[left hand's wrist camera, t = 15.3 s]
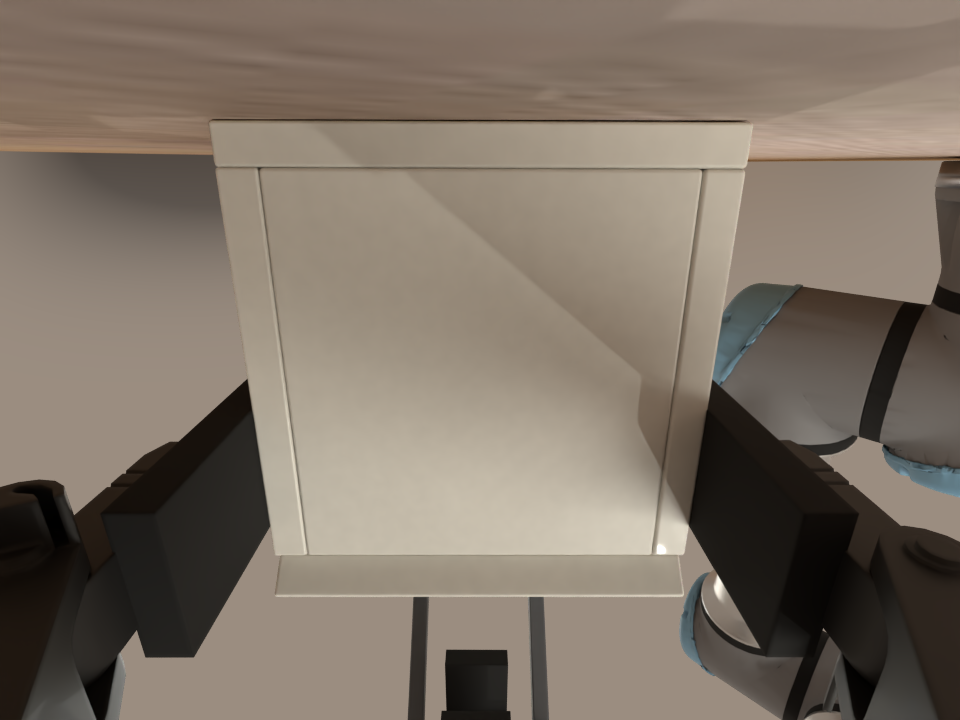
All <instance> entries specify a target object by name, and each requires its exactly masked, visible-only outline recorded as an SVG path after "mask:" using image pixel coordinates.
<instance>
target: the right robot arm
mask: <svg viewBox="0 0 960 720" xmlns="http://www.w3.org/2000/svg"><path fill="white" fill-rule="evenodd" d="M935 187H936V191H935V198H936V209H937V220H938V231H939V242H940V253H941V264H942V269H941V275H940V278H939V282H938V284H937V288H936V291H935V294H934V297H933V300H932V303H931V305H925V304H917V303H910V302H904V301H897V300H890V299H884V298H877V297H870V296H863V295H856V294H849V293H842V292H835V291H829V290H822V289H815V288H808V287H803V285H800V284H797V285H794V286H790V285H778V284H767V283H758V284H753V285H751V286H748V287H747V288H745V289H743V290H742V291H741V292H740V293H738V294H737V295H736V296H735V297H734V299H733V300H732V301H731V302H730V304H729V305H728V306H727V308H726V309H725V311H724V312H723V315H722V321H721V327H720V333H719V340H718V346H717V352H716V359H715V365H714V371H713V377H712V379H713V380H714V381H715V382H716V383H717V384H718V385H719V386H720V387H721V388H723V389H724V390H725V391H726V392H727V393H728V394H729V395H730V396H731V397H732V398H733V399H735V400H736V401H737V402H738V403H739V404H740V405H741V406H742V407H743V408H744V409H746V410H747V411H748V412H749V413H750V414H751V415H752V416H753V417H754V418H755V419H756V420H758V421H759V422H760V423H761V424H762V425H763V426H764V427H765V428H766V429H767V430H769V431H770V432H771V433H772V434H773V435H774V436H775V437H776V438H777V439H778V440H791V441H793V442H795V443H797V444H799V445H801V446H803V447H805V448H806V449H808V450H810V451H812V452H814V453H816V454H817V455H818V456H819V457H821V458H822V459H823V460H824V461H825V462H826V463H828V464H829V465H830V461H831V457H833V456H836V455H839V454H842V453H844V452H846V451H847V450H849V449H850V448H851V447H852V446H853V445H854V444H855V442H856V440H857V437H862V438H865V439H869V440H872V441H875V442H879V443H882V444H883V447H882V451H883V453H884V457H885V460H886V462H887V463H888V464H889V466H890V467H891V468H893V469H894V470H895V471H896V472H898V473H899V474H901V475H905V476H910V479H911V480H912V481H913V482H915V483H917V484H920V485H922V486H925V487H927V488H930V489H932V490H935V491H938V492H941V493H946V494H949V495H953V496H956V497H960V161H944V162H942V164H941V167H940V171H939V174H938V177H937V181H936V184H935ZM680 641H681V645H682V648H683V650H684V652H685V653H686V654H687V656H688V657H689V658H691V659H692V660H693V661H695V662H696V663H697V664H699V665H700V666H701V667H702V668H703V669H704V670H705V671H706V672H707V673H709V674H710V675H713V676H717V677H718V678H720V679H721V680H723V681H724V682H726V683H727V684H729V685H730V686H732V687H733V688H735V689H736V690H738V691H739V692H741V693H742V694H744V695H745V696H747V697H748V698H750V699H751V700H753V701H754V702H756V703H757V704H759V705H760V706H762V707H763V708H765V709H766V710H768V711H769V712H771V713H772V714H774V715H775V716H777V717H778V718H780V719H781V720H842V719H841V713H840V706H839V700H838V699H837V700H835V703H834V706H833V709H832V711H831V713H829V712H827V711H824V710H822V709H823V702H824V697H825V694H826V691H827V688H828V685H829V682H830V679H831V676H832V673H833V671H834V668H835V665H836V662H837V659H838V656H839V653H840V650H839V648H838V647H837V646H836V644H835V643H834V642H833V640H832V639H831V637H830V636H829V635H828V633H826V632H824V631H822V633H821V636H820V639H819V643H818V646H817V649H816V652H815V655H814V657H765V655H764V654H763V652H762V650H761V649H760V647H759V645H758V643H757V642H756V640H755V638H754V637H753V635H752V633H751V631H750V630H749V628H748V626H747V625H746V623H745V621H744V619H743V618H742V616H741V614H740V613H739V611H738V609H737V607H736V606H735V604H734V602H733V600H732V599H731V597H730V595H729V594H728V592H727V590H726V588H725V587H724V585H723V583H722V582H721V580H720V578H719V576H718V575H717V573H716V571H715V570H713V571H711V572H710V573H704V574H703V575H701V576H700V577H699V578H698V579H697V580H696V581H695V583H694V584H693V586H692V587H691V589H690V591H689V593H688V596H687V598H686V600H685V603H684V612H683V614H682V615H681V620H680ZM445 675H446V707H447V711H442V714H441V720H511V717H510V711H507V679H508V658H507V650H446V661H445Z"/></svg>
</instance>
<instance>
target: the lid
mask: <svg viewBox="0 0 960 720" xmlns="http://www.w3.org/2000/svg"><path fill="white" fill-rule="evenodd" d="M683 595H684V590H683V583H682V576H681V569H680V562H679V556H678V555H654V554H650V555H310V554H306V555H281V556H280V561H279V568H278V575H277V582H276V589H275V596H277V597H414V598H413V619H412V640H411V662H410V683H409V706H408V720H424V719H425V692H426V664H427V636H428V608H429V597H528V609H529V640H530V671H531V700H532V720H549V711H548V688H547V665H546V642H545V619H544V597H682V596H683Z"/></svg>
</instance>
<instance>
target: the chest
mask: <svg viewBox="0 0 960 720" xmlns="http://www.w3.org/2000/svg"><path fill="white" fill-rule="evenodd" d="M752 129H753V124H752V123H750V122H586V121H321V120H211V121H209V130H210V137H211V143H212V150H213V156H214V162H215V165H216V166H218V168H216V176H217V183H218V190H219V196H220V203H221V209H222V216H223V222H224V229H225V235H226V242H227V248H228V255H229V261H230V268H231V274H232V281H233V287H234V294H235V300H236V307H237V313H238V320H239V327H240V333H241V339H242V346H243V353H244V359H245V366H246V372H247V379H248V385H249V392H250V398H251V405H252V411H253V418H254V424H255V431H256V437H257V444H258V450H259V457H260V463H261V470H262V477H263V483H264V490H265V496H266V503H267V509H268V516H269V522H270V529H271V535H272V542H273V548H274V554H275V555H306V554H307V552H308V554H310V555H650V554H651V551H652V553H653V554H654V555H683V554H684V552H685V546H686V540H687V534H688V527H689V521H690V515H691V509H692V502H693V496H694V490H695V483H696V477H697V470H698V464H699V458H700V451H701V445H702V439H703V432H704V426H705V419H706V413H707V409H708V402H709V396H710V390H711V384H712V377H713V371H714V365H715V359H716V352H717V346H718V340H719V333H720V327H721V321H722V315H723V308H724V302H725V296H726V290H727V283H728V277H729V271H730V265H731V258H732V252H733V246H734V240H735V233H736V227H737V221H738V215H739V208H740V202H741V196H742V190H743V183H744V177H745V171H744V170H742V169H743V168H745V167H746V165H747V161H748V154H749V148H750V142H751V136H752Z"/></svg>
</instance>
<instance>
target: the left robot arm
mask: <svg viewBox="0 0 960 720" xmlns="http://www.w3.org/2000/svg"><path fill="white" fill-rule="evenodd" d="M269 527H270V522H269V516H268V509H267V503H266V496H265V490H264V483H263V477H262V470H261V463H260V457H259V450H258V444H257V437H256V431H255V424H254V418H253V411H252V405H251V398H250V392H249V385H248V379H247V380H246V381H245V382H243V383H242V384H241V385H240V386H239V387H238V388H237V389H236V390H235V391H234V392H232V393H231V394H230V395H229V396H228V397H227V398H226V399H225V400H224V401H223V402H222V403H220V404H219V405H218V406H217V407H216V408H215V409H214V410H213V411H212V412H211V413H209V414H208V415H207V416H206V417H205V418H204V419H203V420H202V421H201V422H200V423H199V424H197V425H196V426H195V427H194V428H193V429H192V430H191V431H190V432H189V433H188V434H187V435H185V436H184V437H183V438H182V439H181V440H180V441H179V442H169V443H167V444H165V445H163V446H161V447H159V448H157V449H155V450H153V451H151V452H149V453H147V454H145V455H144V456H143V457H142V458H140V459H139V460H138V461H137V462H136V463H135V464H133V465H132V466H131V467H130V468H129V469H128V470H126V474H122V475H121V476H119V477H118V478H117V479H116V480H115V481H114V482H112V483H111V487H107V488H105V489H104V490H103V491H102V492H101V493H100V494H98V495H97V496H96V497H95V498H94V499H93V500H92V501H90V502H89V503H88V504H87V505H86V506H85V507H83V508H82V509H81V510H80V511H79V512H78V513H76V514H75V515H74V514H73V511H72V508H71V505H70V502H69V499H68V497H67V494H66V491H65V488H64V486H63V485H61V484H60V483H58V482H56V481H50V480H33V481H25V482H18V483H14V484H10V485H6V486H3V487H0V720H119V714H120V708H121V702H122V695H123V689H124V683H125V676H126V674H125V666H124V662H123V659H122V656H121V653H120V652H121V650H122V649H123V648H124V646H125V645H126V644H127V642H128V641H129V640H130V638H131V637H132V636H133V634H134V633H135V632H136V630H137V632H138V635H139V638H140V641H141V645H142V648H143V651H144V654H145V657H194V656H195V654H196V653H197V651H198V649H199V648H200V646H201V644H202V642H203V641H204V639H205V637H206V636H207V634H208V632H209V630H210V629H211V627H212V625H213V623H214V622H215V620H216V618H217V617H218V615H219V613H220V611H221V610H222V608H223V606H224V605H225V603H226V601H227V600H228V598H229V596H230V594H231V593H232V591H233V589H234V587H235V586H236V584H237V582H238V581H239V579H240V577H241V575H242V574H243V572H244V570H245V569H246V567H247V565H248V563H249V562H250V560H251V558H252V557H253V555H254V553H255V551H256V550H257V548H258V546H259V544H260V543H261V541H262V539H263V538H264V536H265V534H266V533H267V531H268V529H269ZM689 527H690V528H691V530H692V532H693V533H694V535H695V537H696V539H697V540H698V542H699V544H700V545H701V547H702V549H703V551H704V552H705V554H706V556H707V557H708V559H709V561H710V563H711V564H712V566H713V568H714V570H715V571H716V573H717V575H718V576H719V578H720V580H721V582H722V583H723V585H724V587H725V588H726V590H727V592H728V594H729V595H730V597H731V599H732V600H733V602H734V604H735V606H736V607H737V609H738V611H739V613H740V614H741V616H742V618H743V619H744V621H745V623H746V625H747V626H748V628H749V630H750V631H751V633H752V635H753V637H754V638H755V640H756V642H757V643H758V645H759V647H760V649H761V650H762V652H763V654H764V655H765V657H814V655H815V652H816V649H817V646H818V643H819V639H820V636H821V633H822V630H823V628H824V629H825V631H826V632H827V633H828V635H829V636H830V637H831V639H832V640H833V642H834V643H835V644H836V646H837V647H838V648H839V650H840V653H839V656H838V659H837V662H836V665H835V668H834V671H833V673H832V676H831V679H830V682H829V685H828V688H827V691H826V694H825V697H824V702H823V709H822V710H824V711H827V712H829V713H831V711H832V709H833V706H834V703H835V700H837V699H838V700H839V706H840V713H841V719H842V720H960V542H959V541H957V540H955V539H952V538H950V537H948V536H946V535H942V534H939V533H936V532H933V531H930V530H927V529H922V528H915V527H908V526H900V525H899V524H898V523H897V522H896V521H894V520H893V519H892V518H891V517H890V516H888V515H887V514H886V513H885V512H884V511H882V510H881V509H880V508H879V507H878V506H877V505H876V504H874V503H873V502H872V501H871V500H870V499H869V498H867V497H866V496H865V495H864V494H863V493H862V492H860V491H859V490H858V489H857V488H856V487H854V486H853V485H849V481H848V480H846V479H845V478H844V477H843V476H842V475H840V474H839V473H838V472H834V469H833V468H832V467H831V466H830V465H829V464H828V463H826V462H825V461H824V460H823V459H822V458H821V457H819V456H818V455H817V454H816V453H814V452H812V451H810V450H808V449H806V448H805V447H803V446H801V445H799V444H797V443H795V442H793V441H791V440H778V439H777V438H776V437H775V436H774V435H773V434H772V433H771V432H770V431H769V430H767V429H766V428H765V427H764V426H763V425H762V424H761V423H760V422H759V421H758V420H756V419H755V418H754V417H753V416H752V415H751V414H750V413H749V412H748V411H747V410H746V409H744V408H743V407H742V406H741V405H740V404H739V403H738V402H737V401H736V400H735V399H733V398H732V397H731V396H730V395H729V394H728V393H727V392H726V391H725V390H724V389H723V388H721V387H720V386H719V385H718V384H717V383H716V382H715V381H714V380H713V379H712V384H711V390H710V396H709V402H708V409H707V413H706V419H705V426H704V432H703V439H702V445H701V451H700V458H699V464H698V470H697V477H696V483H695V490H694V496H693V502H692V509H691V515H690V521H689Z"/></svg>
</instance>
